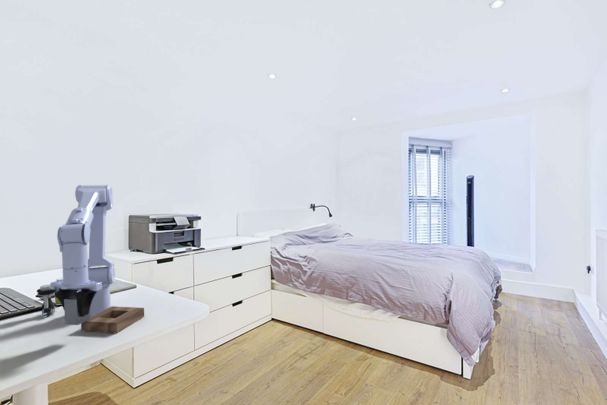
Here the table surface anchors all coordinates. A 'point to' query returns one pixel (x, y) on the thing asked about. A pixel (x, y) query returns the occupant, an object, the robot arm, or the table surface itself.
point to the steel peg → (73, 312)
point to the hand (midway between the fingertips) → (77, 314)
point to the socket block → (113, 319)
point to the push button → (47, 300)
